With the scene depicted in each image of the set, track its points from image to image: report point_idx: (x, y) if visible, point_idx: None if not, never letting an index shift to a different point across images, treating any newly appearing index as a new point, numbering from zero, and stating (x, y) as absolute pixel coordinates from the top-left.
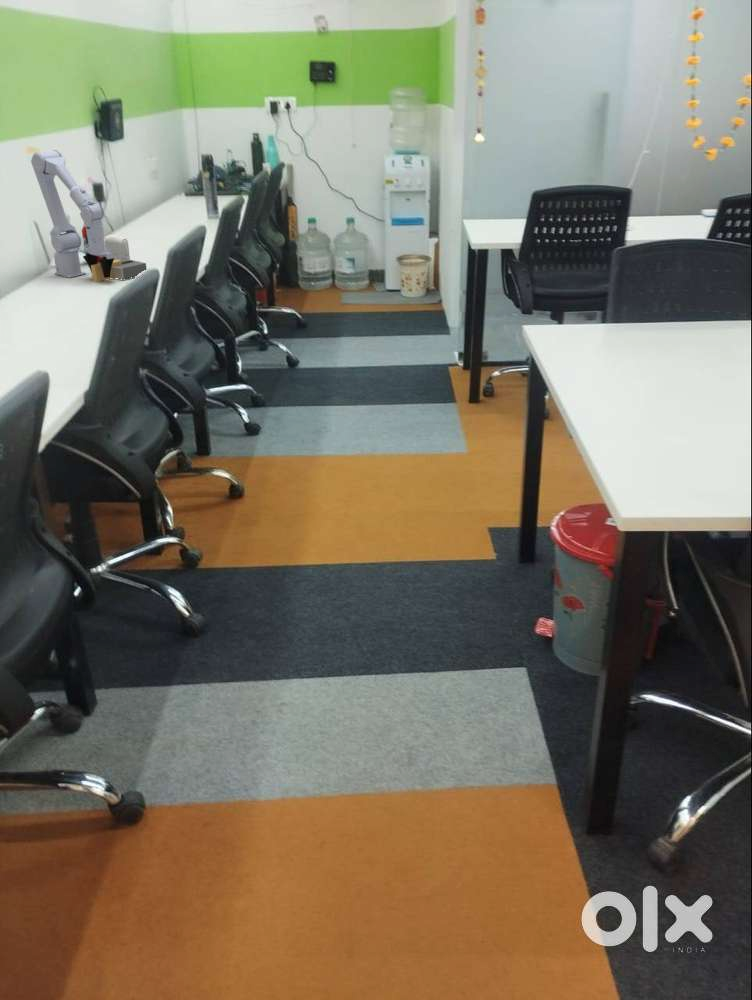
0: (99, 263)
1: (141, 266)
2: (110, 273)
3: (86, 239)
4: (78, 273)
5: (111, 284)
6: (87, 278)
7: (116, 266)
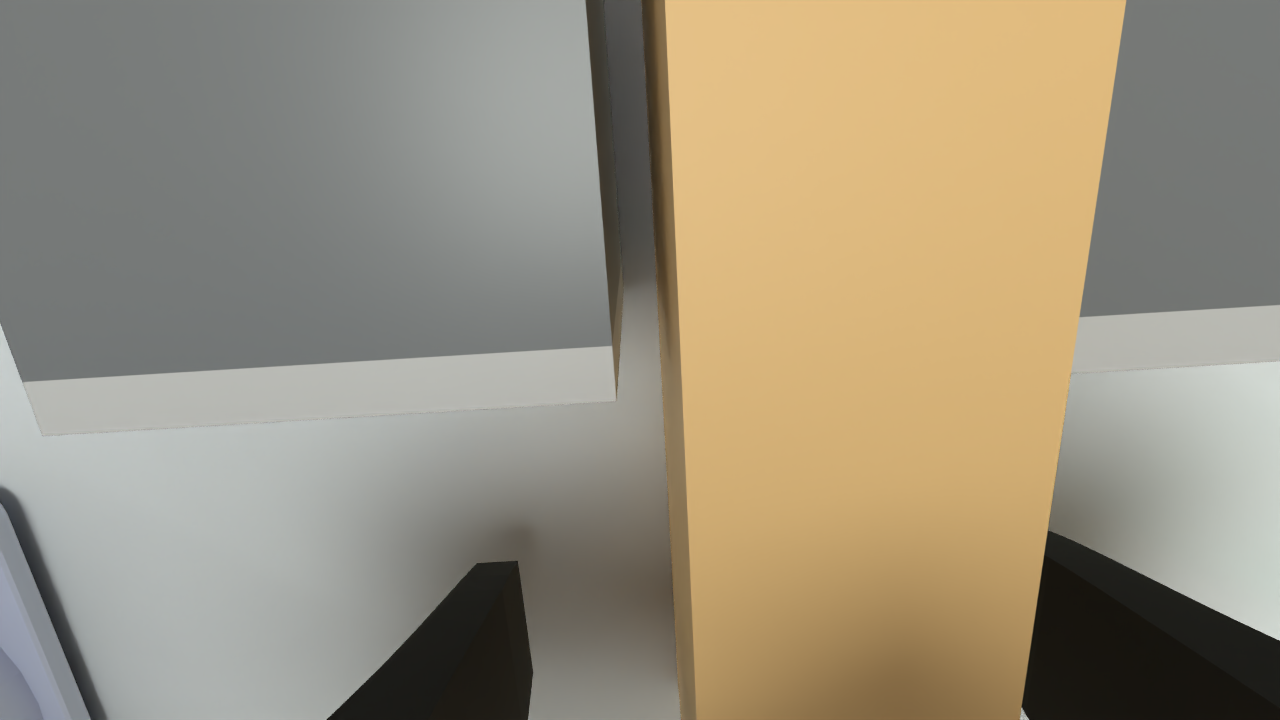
0: (72, 430)
1: None
2: (1123, 567)
3: None
4: (9, 683)
5: (1202, 599)
6: (394, 646)
7: (1153, 261)
